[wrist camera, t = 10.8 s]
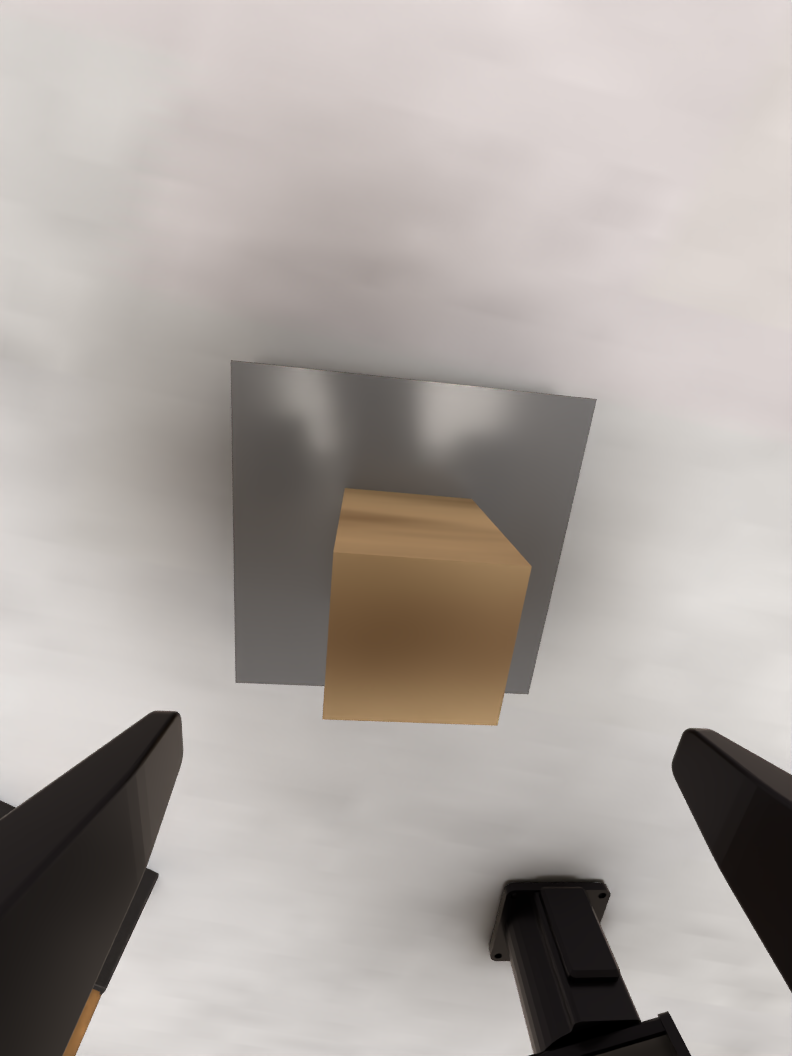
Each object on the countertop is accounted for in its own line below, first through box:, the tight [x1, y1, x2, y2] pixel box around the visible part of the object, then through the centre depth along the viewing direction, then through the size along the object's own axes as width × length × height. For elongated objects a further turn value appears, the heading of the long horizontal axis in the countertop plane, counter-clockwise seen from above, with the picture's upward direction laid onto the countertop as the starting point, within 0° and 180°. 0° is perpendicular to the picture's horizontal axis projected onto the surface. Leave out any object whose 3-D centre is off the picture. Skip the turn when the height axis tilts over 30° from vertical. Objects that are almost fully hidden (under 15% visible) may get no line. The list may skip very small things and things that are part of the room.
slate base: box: [231, 360, 597, 694], centre depth 18 cm, size 12×12×3 cm
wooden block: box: [323, 488, 532, 725], centre depth 13 cm, size 4×4×6 cm
